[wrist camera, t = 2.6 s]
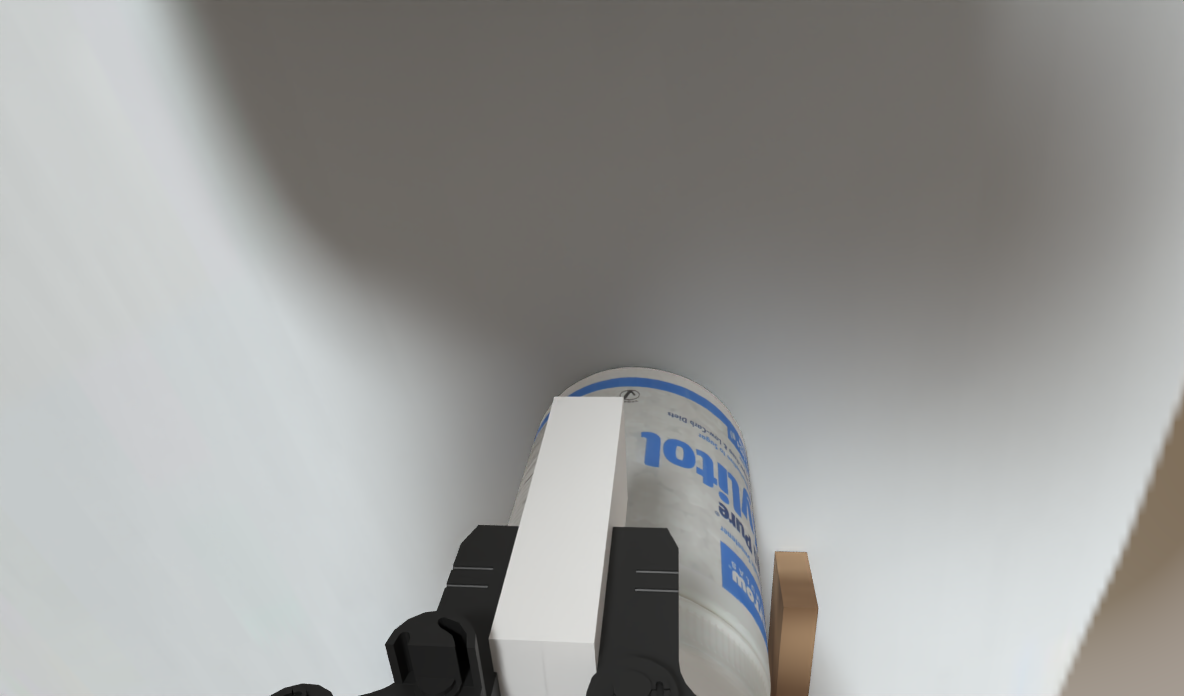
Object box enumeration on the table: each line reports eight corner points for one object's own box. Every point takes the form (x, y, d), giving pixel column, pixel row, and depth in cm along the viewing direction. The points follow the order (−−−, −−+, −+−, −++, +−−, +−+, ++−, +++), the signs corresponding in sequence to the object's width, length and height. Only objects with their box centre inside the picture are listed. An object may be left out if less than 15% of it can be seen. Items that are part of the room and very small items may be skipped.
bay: (482, 543, 39) (463, 604, 35) (806, 552, 37) (819, 616, 34) (507, 701, 45) (493, 766, 41) (790, 715, 43) (800, 785, 39)
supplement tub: (787, 422, 34) (854, 723, 21) (673, 557, 38) (670, 875, 25) (595, 318, 32) (540, 574, 19) (499, 471, 37) (403, 762, 24)
